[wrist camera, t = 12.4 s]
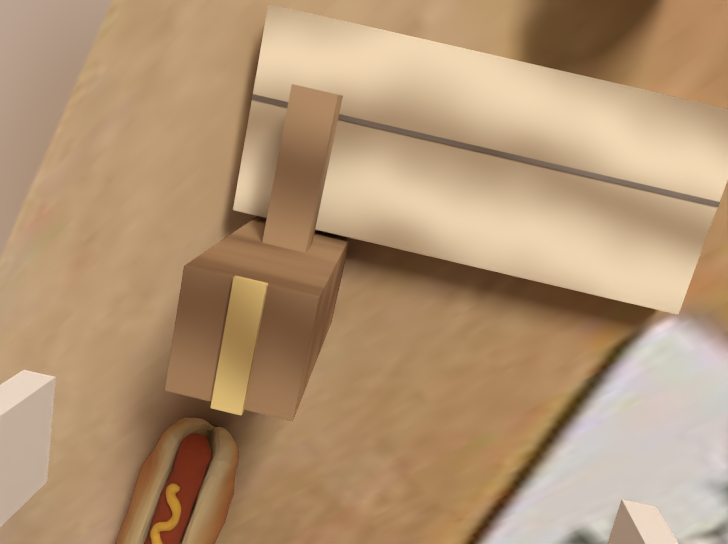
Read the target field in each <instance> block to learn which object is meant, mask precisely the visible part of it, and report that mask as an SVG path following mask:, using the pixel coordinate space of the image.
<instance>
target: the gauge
mask: <svg viewBox="0 0 728 544" xmlns="http://www.w3.org/2000/svg"><path fill="white" fill-rule="evenodd" d="M342 98H343V96H342V95H338V94H333V93H329V92H325V91H320V90H316V89H312V88H307V87H303V86H298V85H294V84H292V85H291V91H290V96H289V101H288V107H287V112H286V117H285V123H284V128H283V134H282V139H281V144H280V150H279V155H278V160H277V166H276V171H275V177H274V182H273V187H272V193H271V198H270V203H269V209H268V214H267V218H264V217H260V216H257V217H255V218H254V219H252V220H251V221H250V222H248V223H247V224H245V225H244V226H242V227H241V228H239V229H238V230H236V231H235V232H233V233H232V234H230V235H229V236H227V237H226V238H225V239H223V240H222V241H220V242H219V243H217V244H216V245H214V246H213V247H211V248H210V249H208V250H207V251H205V252H204V253H203V254H201V255H200V256H198V257H197V258H195V259H194V260H192V261H191V262H189V263H188V264H186V265H185V266H184V270H183V276H182V283H181V289H180V296H179V302H178V308H177V315H176V321H175V328H174V334H173V340H172V347H171V353H170V360H169V366H168V373H167V379H166V385H165V391H168V392H173V393H177V394H181V395H185V396H189V397H193V398H198V399H202V400H206V401H210V402H211V408H212V409H216V410H220V411H224V412H229V413H233V414H237V415H242V414H243V412H244V410H248V411H252V412H256V413H260V414H264V415H268V416H273V417H277V418H281V419H285V420H289V421H293V419H294V417H295V414H296V412H297V409H298V406H299V404H300V401H301V399H302V396H303V394H304V391H305V388H306V386H307V383H308V381H309V378H310V376H311V373H312V370H313V368H314V365H315V363H316V360H317V358H318V355H319V352H320V350H321V347H322V345H323V342H324V340H325V337H326V334H327V332H328V329H329V327H330V324H331V322H332V317H333V313H334V308H335V304H336V299H337V295H338V290H339V286H340V281H341V277H342V272H343V268H344V263H345V259H346V254H347V250H348V245H349V241H350V237H345V236H341V235H337V234H333V233H328V232H324V231H320V230H316V229H315V228H316V223H317V218H318V214H319V209H320V204H321V199H322V194H323V189H324V185H325V180H326V175H327V170H328V165H329V160H330V156H331V151H332V146H333V141H334V136H335V131H336V127H337V122H338V117H339V112H340V107H341V102H342Z"/></svg>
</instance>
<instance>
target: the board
mask: <svg viewBox="0 0 728 544" xmlns="http://www.w3.org/2000/svg"><path fill="white" fill-rule="evenodd" d="M292 84H294V85H298V86H303V87H307V88H312V89H316V90H320V91H325V92H329V93H333V94H338V95H342V96H343V98H342V102H341V107H340V112H339V117H338V122H337V127H336V131H335V136H334V141H333V146H332V151H331V156H330V160H329V165H328V170H327V175H326V180H325V185H324V189H323V194H322V199H321V204H320V209H319V214H318V218H317V223H316V228H315V229H316V230H320V231H324V232H328V233H333V234H337V235H341V236H345V237H350V238H354V239H358V240H362V241H367V242H371V243H375V244H379V245H384V246H388V247H392V248H396V249H401V250H405V251H409V252H413V253H418V254H422V255H426V256H430V257H435V258H439V259H443V260H448V261H452V262H456V263H460V264H465V265H469V266H473V267H477V268H482V269H486V270H490V271H494V272H499V273H503V274H507V275H511V276H516V277H520V278H524V279H528V280H533V281H537V282H541V283H545V284H550V285H554V286H558V287H563V288H567V289H571V290H575V291H580V292H584V293H588V294H592V295H597V296H601V297H605V298H609V299H614V300H618V301H622V302H626V303H631V304H635V305H639V306H643V307H648V308H652V309H656V310H660V311H665V312H669V313H673V314H679V311H680V308H681V306H682V303H683V300H684V297H685V295H686V292H687V289H688V286H689V284H690V281H691V278H692V276H693V273H694V270H695V267H696V265H697V262H698V259H699V256H700V254H701V251H702V248H703V246H704V243H705V240H706V237H707V235H708V232H709V229H710V226H711V224H712V221H713V218H714V216H715V213H716V210H717V207H718V206H719V204H720V199H721V196H722V194H723V191H724V188H725V186H726V183H727V180H728V109H727V108H723V107H718V106H714V105H710V104H705V103H701V102H696V101H692V100H688V99H683V98H679V97H675V96H670V95H666V94H661V93H657V92H653V91H648V90H644V89H640V88H635V87H631V86H626V85H622V84H618V83H613V82H609V81H605V80H600V79H596V78H591V77H587V76H583V75H578V74H574V73H570V72H565V71H561V70H556V69H552V68H548V67H543V66H539V65H535V64H530V63H526V62H521V61H517V60H513V59H508V58H504V57H500V56H495V55H491V54H486V53H482V52H478V51H473V50H469V49H464V48H460V47H456V46H451V45H447V44H443V43H438V42H434V41H429V40H425V39H421V38H416V37H412V36H408V35H403V34H399V33H394V32H390V31H386V30H381V29H377V28H373V27H368V26H364V25H359V24H355V23H351V22H346V21H342V20H338V19H333V18H329V17H324V16H320V15H316V14H311V13H307V12H303V11H298V10H294V9H289V8H285V7H281V6H276V5H272V4H268V9H267V15H266V20H265V26H264V32H263V38H262V44H261V50H260V55H259V61H258V67H257V73H256V79H255V84H254V90H253V94H252V102H251V108H250V113H249V119H248V125H247V131H246V137H245V142H244V148H243V154H242V160H241V166H240V172H239V177H238V183H237V189H236V195H235V201H234V206H233V210H235V211H239V212H243V213H247V214H252V215H256V216H260V217H264V218H267V214H268V209H269V203H270V198H271V193H272V187H273V182H274V177H275V171H276V166H277V160H278V155H279V150H280V144H281V139H282V134H283V128H284V123H285V117H286V112H287V107H288V101H289V96H290V91H291V85H292Z"/></svg>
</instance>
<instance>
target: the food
mask: <svg viewBox="0 0 728 544" xmlns="http://www.w3.org/2000/svg"><path fill="white" fill-rule="evenodd" d="M238 458H239V451H238V447H237V444H236V442H235V441H234V439H233V437H232V435H231V434H230V433H229V432H228V431H227V430H226V429H225V428H222V427H213V426H212V425H210V423H208V422H207V421H206V420H203V419H200V418H182V419H181V420H179V421H177V422H175V423H174V424H173V425H171V426H170V427H169V428H168V429H167V430H166V431H165V432H164V433H163V434H162V436H161V438H160V440H159V442H158V443H157V445H156V447H155V448H154V450H153V452H152V453H151V454H150V456H149V457H148V458H147V460H146V461H145V462H144V464H143V466H142V468H141V471H140V474H139V476H138V479H137V483H136V486H135V490H134V493H133V496H132V499H131V503H130V506H129V510H128V513H127V516H126V518H125V520H124V522H123V524H122V527H121V529H120V532H119V535H118V537H117V540H116V544H215V542H216V539H217V537H218V535H219V533H220V531H221V529H222V527H223V525H224V523H225V520H226V516H227V512H228V509H229V505H230V503H231V500H232V497H233V494H234V481H235V471H236V468H237V464H238Z"/></svg>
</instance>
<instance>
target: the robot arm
mask: <svg viewBox="0 0 728 544" xmlns="http://www.w3.org/2000/svg"><path fill="white" fill-rule="evenodd" d="M55 379H56V377H54V376H49V375H45V374H40V373H35V372H31V371H26V370H23V371H21V372H20V373H18V374H17V375H15V376H13V377H12V378H10V379H9V380H7V381H6V382H4V383H2V384H1V385H0V527H1V526H2V525H3V524H4V523H5V522H6V521H7V520H8V519H9V518H10V517H11V516H12V515H13V514H14V513H15V512H17V511H18V510H19V509H20V508H21V507H22V506H23V505H24V504H25V503H26V502H27V501H28V500H29V499H30V498H31V497H32V496H33V495H34V494H35V493H36V492H37V491H38V490H39V489H40V488H41V487H42V486H43V485H44V484H45V483H46V482H47V477H48V465H49V453H50V441H51V428H52V416H53V404H54V392H55ZM608 544H678V542H677V540H676V539H675V537H674V535H673V534H672V532H671V531H670V529H669V527H668V526H667V524H666V522H665V521H664V519H663V517H662V516H661V514H660V513H659V511H658V509H657V508H656V507H654V506H650V505H645V504H640V503H636V502H631V501H626V500H622V501H621V504H620V507H619V510H618V513H617V516H616V519H615V522H614V525H613V528H612V531H611V534H610V538H609V541H608Z"/></svg>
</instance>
